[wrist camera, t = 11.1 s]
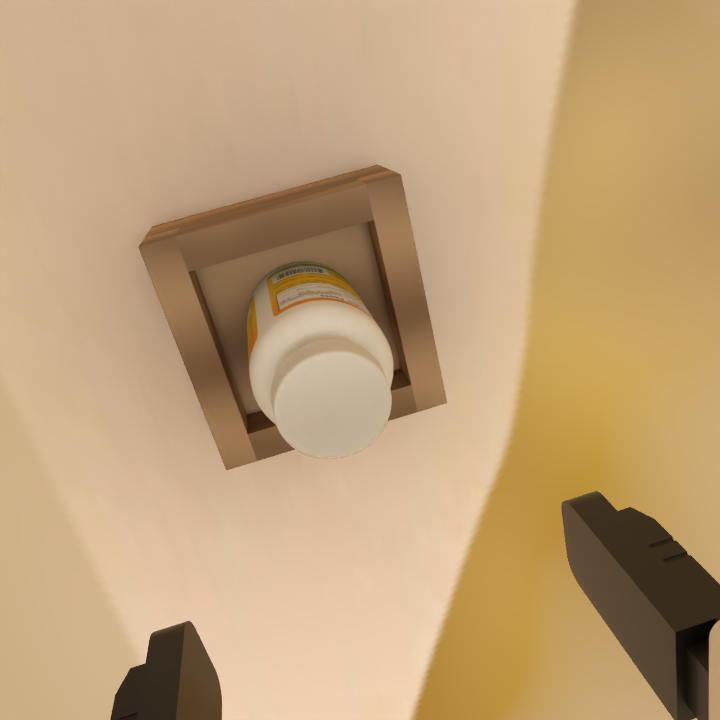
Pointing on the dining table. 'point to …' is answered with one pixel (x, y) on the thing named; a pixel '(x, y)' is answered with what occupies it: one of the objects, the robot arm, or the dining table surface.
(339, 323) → the supplement bottle
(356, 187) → the wooden open box
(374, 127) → the dining table surface
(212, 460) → the dining table surface
